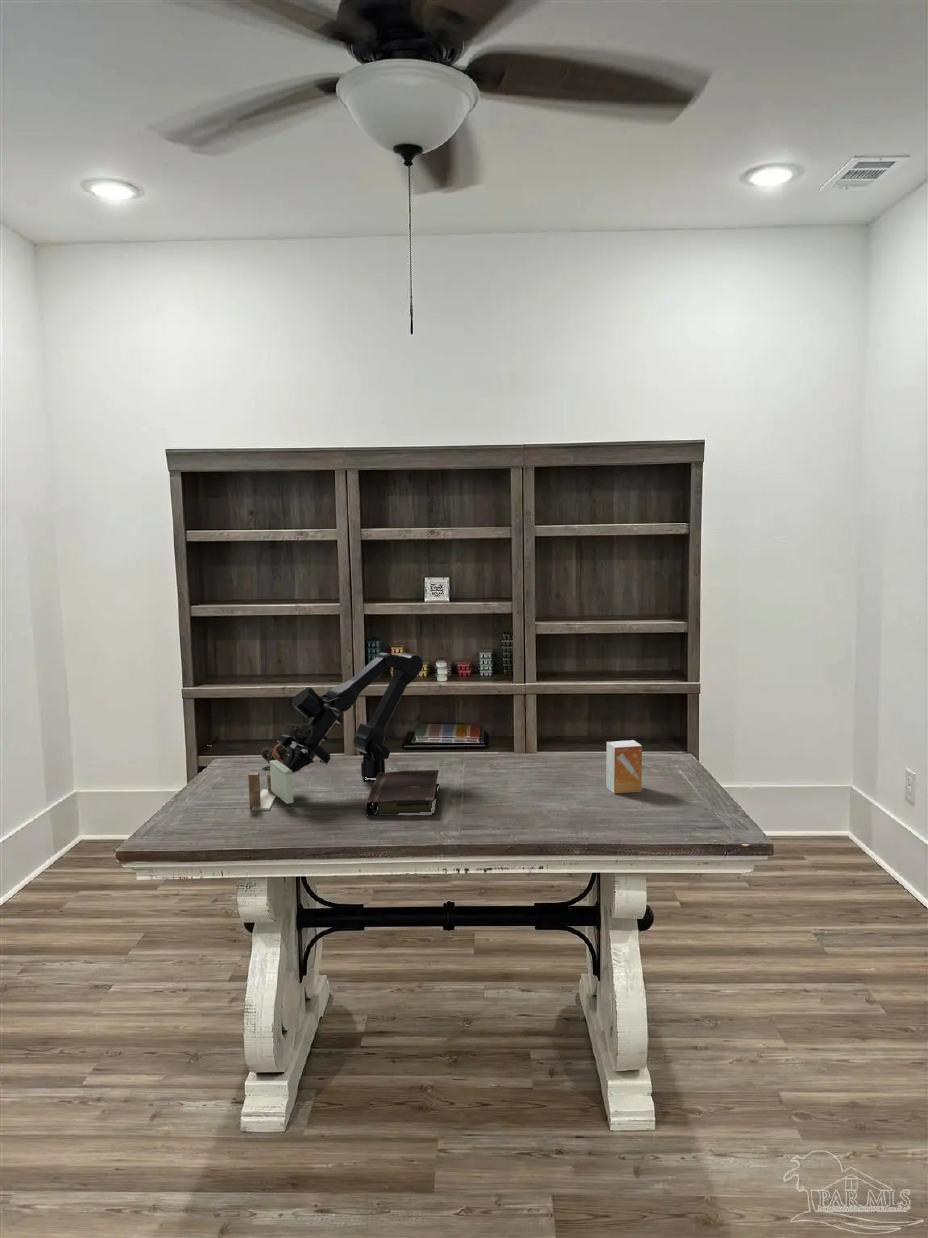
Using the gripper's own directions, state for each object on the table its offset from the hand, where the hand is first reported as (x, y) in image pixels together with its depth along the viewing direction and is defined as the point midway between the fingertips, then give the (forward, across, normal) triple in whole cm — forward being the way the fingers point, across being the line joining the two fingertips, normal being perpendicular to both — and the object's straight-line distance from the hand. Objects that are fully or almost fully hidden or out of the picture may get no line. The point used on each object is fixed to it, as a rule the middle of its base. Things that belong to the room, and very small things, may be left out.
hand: (285, 775), depth 234 cm
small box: (-44, +60, +54) cm, 92 cm away
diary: (-10, +24, +21) cm, 33 cm away
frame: (+8, -4, +2) cm, 9 cm away
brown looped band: (-6, -29, +16) cm, 34 cm away
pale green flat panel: (+5, -1, +3) cm, 6 cm away
